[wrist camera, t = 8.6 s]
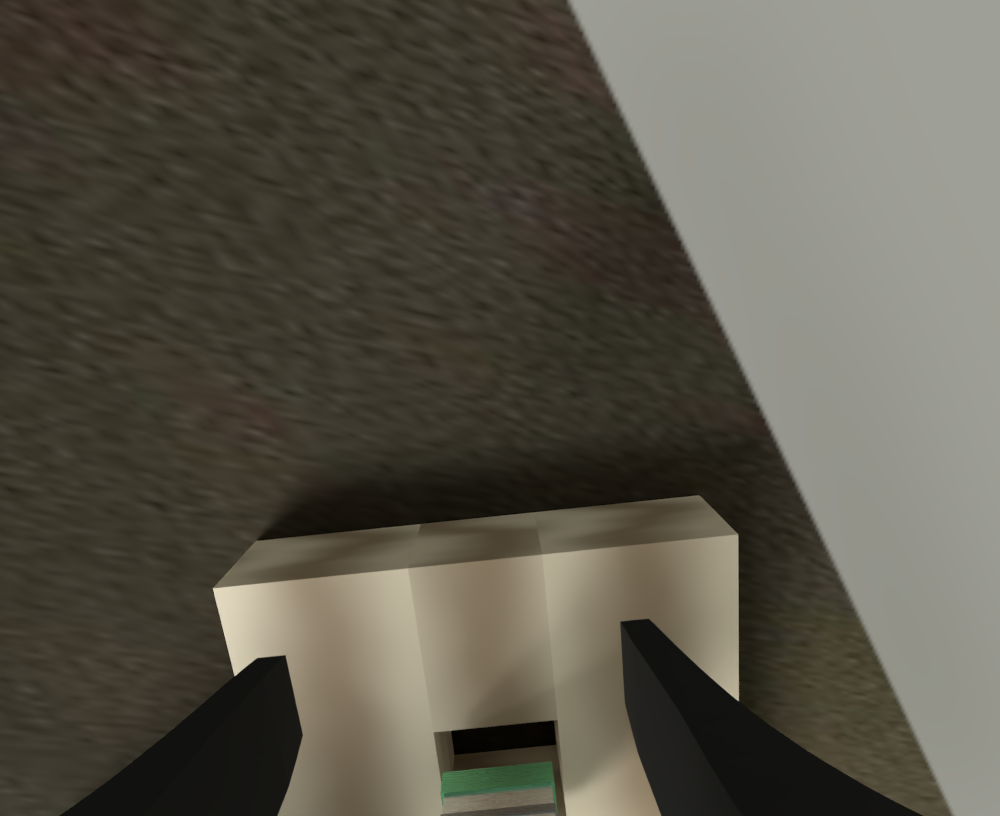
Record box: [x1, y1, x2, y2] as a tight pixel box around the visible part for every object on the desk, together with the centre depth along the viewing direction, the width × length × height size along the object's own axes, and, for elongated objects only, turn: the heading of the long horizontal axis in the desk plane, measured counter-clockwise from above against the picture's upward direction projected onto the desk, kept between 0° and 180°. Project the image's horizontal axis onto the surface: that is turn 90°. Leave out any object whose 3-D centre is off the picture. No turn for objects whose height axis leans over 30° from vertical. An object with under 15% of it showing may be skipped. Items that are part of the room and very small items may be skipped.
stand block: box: [213, 495, 739, 816], centre depth 22 cm, size 18×18×4 cm
